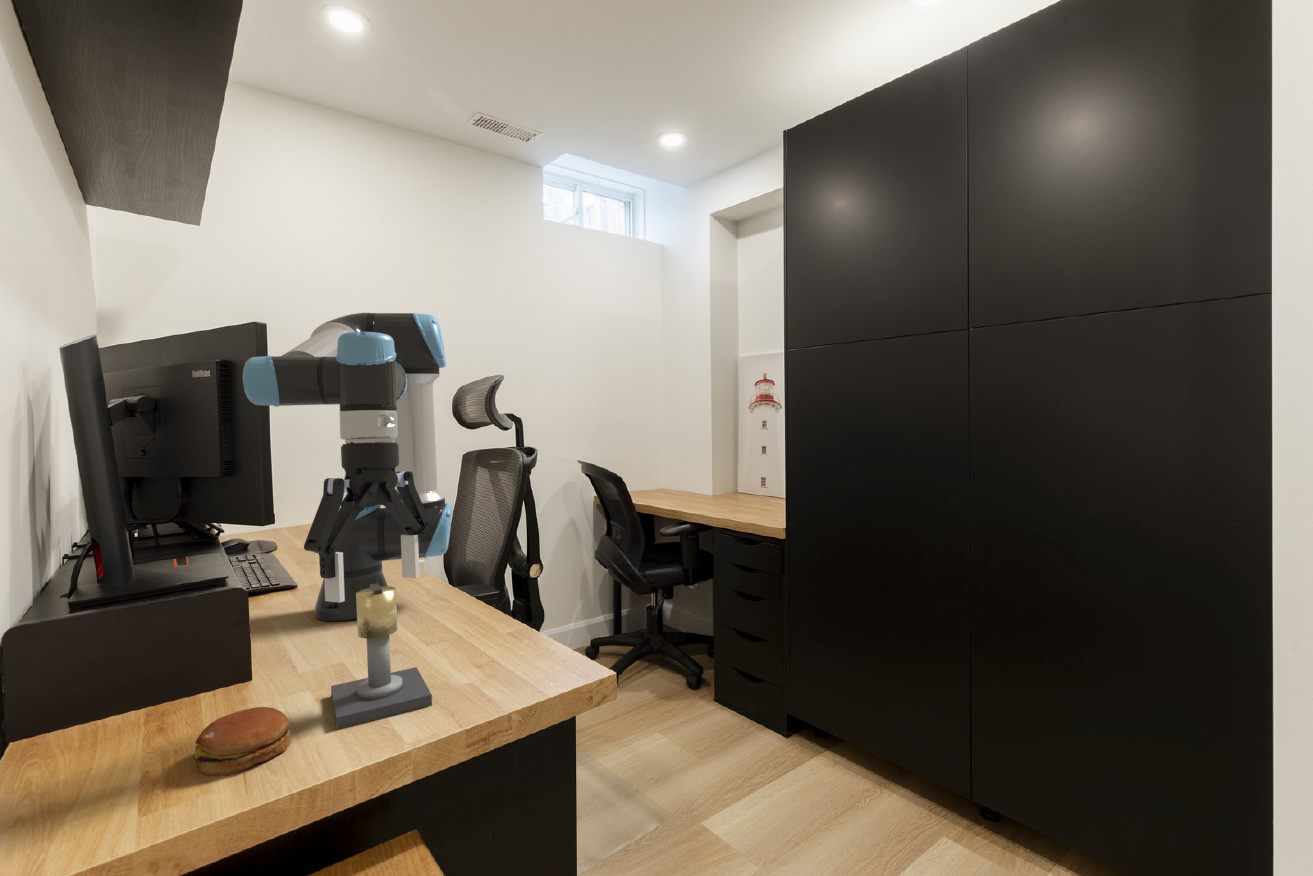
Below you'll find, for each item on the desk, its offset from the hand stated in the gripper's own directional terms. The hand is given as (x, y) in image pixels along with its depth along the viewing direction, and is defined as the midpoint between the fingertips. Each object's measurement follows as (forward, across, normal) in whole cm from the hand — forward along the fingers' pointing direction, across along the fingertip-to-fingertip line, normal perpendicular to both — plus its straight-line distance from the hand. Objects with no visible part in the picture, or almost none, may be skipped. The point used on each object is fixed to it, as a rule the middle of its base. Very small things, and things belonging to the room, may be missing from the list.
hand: (375, 588), depth 88 cm
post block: (+16, 0, 0) cm, 16 cm away
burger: (+17, -16, +5) cm, 24 cm away
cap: (+6, 0, 0) cm, 6 cm away
